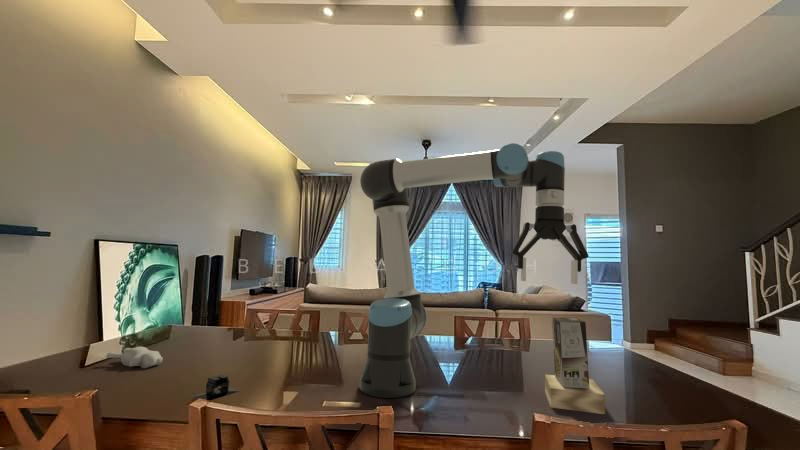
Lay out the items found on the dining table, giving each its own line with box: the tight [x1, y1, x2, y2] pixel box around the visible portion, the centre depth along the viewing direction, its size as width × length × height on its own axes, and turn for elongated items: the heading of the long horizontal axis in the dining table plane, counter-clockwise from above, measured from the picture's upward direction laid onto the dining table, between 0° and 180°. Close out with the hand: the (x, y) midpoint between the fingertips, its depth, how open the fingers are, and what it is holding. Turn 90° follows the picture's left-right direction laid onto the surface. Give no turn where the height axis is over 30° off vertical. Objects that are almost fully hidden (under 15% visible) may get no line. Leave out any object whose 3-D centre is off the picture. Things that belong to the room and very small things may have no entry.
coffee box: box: [551, 316, 590, 389], centre depth 95 cm, size 9×6×16 cm
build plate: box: [192, 374, 240, 402], centre depth 91 cm, size 12×7×5 cm, turn 148°
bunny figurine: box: [105, 346, 164, 369], centre depth 113 cm, size 10×5×15 cm
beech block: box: [544, 374, 606, 415], centre depth 94 cm, size 12×12×5 cm
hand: (548, 282), depth 102 cm, fingers open, 13 cm apart
